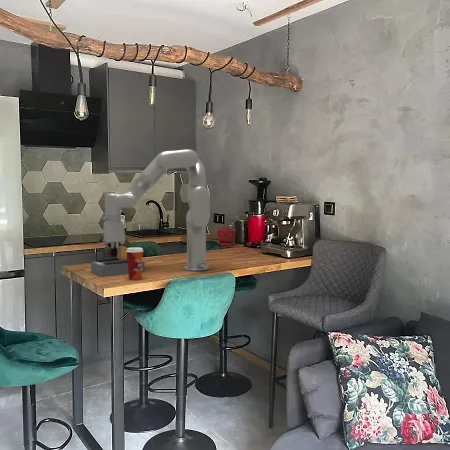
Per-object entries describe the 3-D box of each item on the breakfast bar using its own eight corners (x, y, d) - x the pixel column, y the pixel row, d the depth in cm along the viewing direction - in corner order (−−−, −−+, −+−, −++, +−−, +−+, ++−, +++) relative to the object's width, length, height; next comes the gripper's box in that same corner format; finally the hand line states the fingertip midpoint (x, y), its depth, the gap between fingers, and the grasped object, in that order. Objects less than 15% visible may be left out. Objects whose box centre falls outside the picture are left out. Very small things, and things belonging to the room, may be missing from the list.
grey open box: (144, 271, 226) (144, 258, 226) (101, 276, 214) (101, 263, 213) (132, 267, 238) (132, 255, 237) (91, 272, 225) (90, 259, 224)
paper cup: (139, 280, 205) (138, 249, 203) (123, 279, 207) (123, 249, 205) (146, 277, 212) (146, 247, 211) (131, 276, 214) (131, 246, 213)
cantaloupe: (103, 263, 249) (103, 236, 248) (130, 262, 254) (129, 235, 253) (106, 268, 236) (106, 239, 234) (134, 266, 241) (134, 238, 239)
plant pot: (229, 246, 320) (229, 229, 319) (213, 245, 327) (213, 228, 326) (239, 244, 331) (239, 228, 330) (223, 243, 338) (223, 227, 337)
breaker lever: (127, 263, 225) (126, 247, 225) (121, 264, 224) (121, 247, 223) (122, 262, 229) (122, 246, 229) (117, 262, 228) (117, 246, 227)
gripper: (101, 219, 215) (102, 258, 216) (130, 218, 223) (131, 255, 225) (95, 218, 221) (96, 256, 222) (124, 217, 230) (125, 254, 231)
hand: (113, 256), depth 224 cm, fingers closed
